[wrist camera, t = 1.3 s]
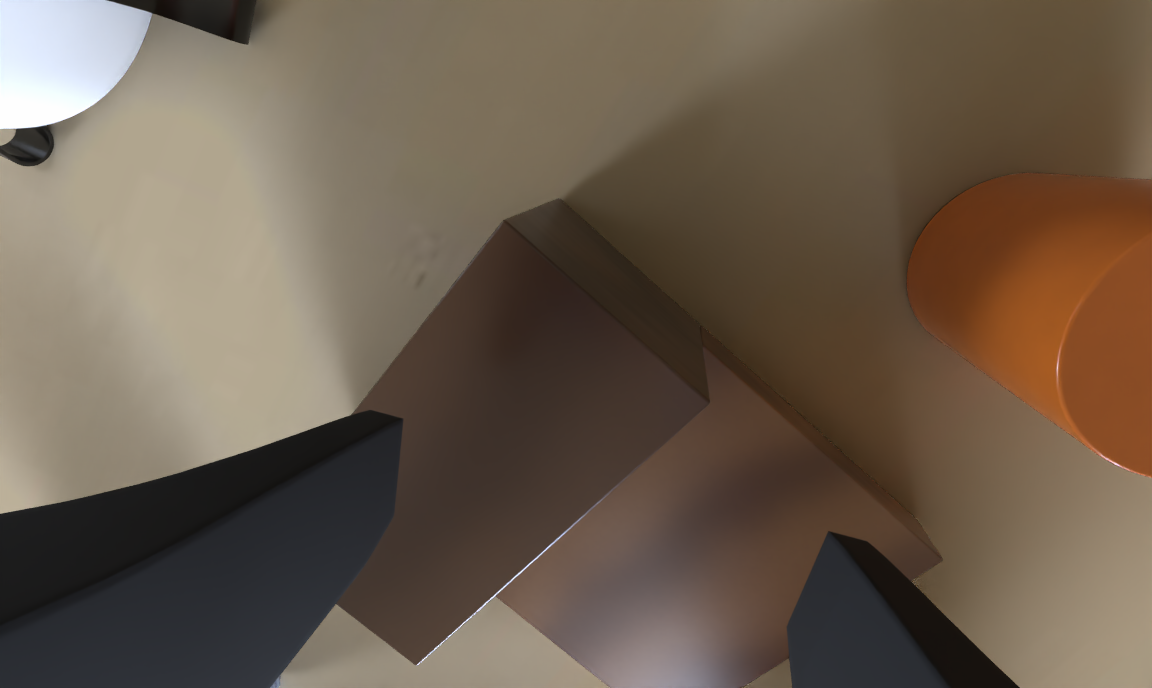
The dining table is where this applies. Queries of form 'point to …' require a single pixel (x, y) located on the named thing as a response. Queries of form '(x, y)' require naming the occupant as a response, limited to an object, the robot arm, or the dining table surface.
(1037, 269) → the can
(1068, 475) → the dining table surface
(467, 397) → the shelf riser
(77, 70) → the coffee press
